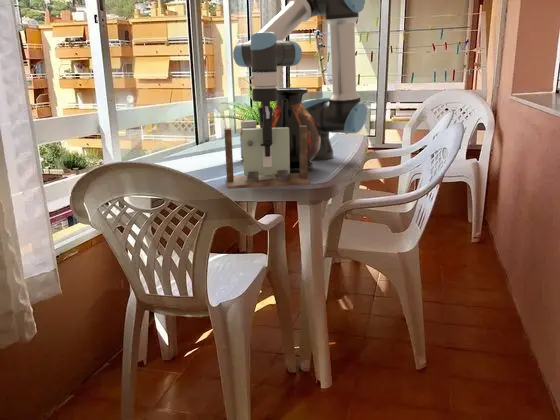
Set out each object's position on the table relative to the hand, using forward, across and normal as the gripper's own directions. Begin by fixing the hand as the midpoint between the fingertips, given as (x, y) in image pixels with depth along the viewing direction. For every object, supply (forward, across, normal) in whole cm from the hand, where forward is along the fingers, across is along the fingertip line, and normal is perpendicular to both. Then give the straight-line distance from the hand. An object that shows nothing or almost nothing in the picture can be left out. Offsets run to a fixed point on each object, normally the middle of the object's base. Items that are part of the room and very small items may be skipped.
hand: (266, 165), depth 153 cm
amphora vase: (+6, -20, +10) cm, 23 cm away
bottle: (+6, -45, -2) cm, 45 cm away
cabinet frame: (+6, 0, 0) cm, 6 cm away
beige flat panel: (+3, 0, 0) cm, 3 cm away
